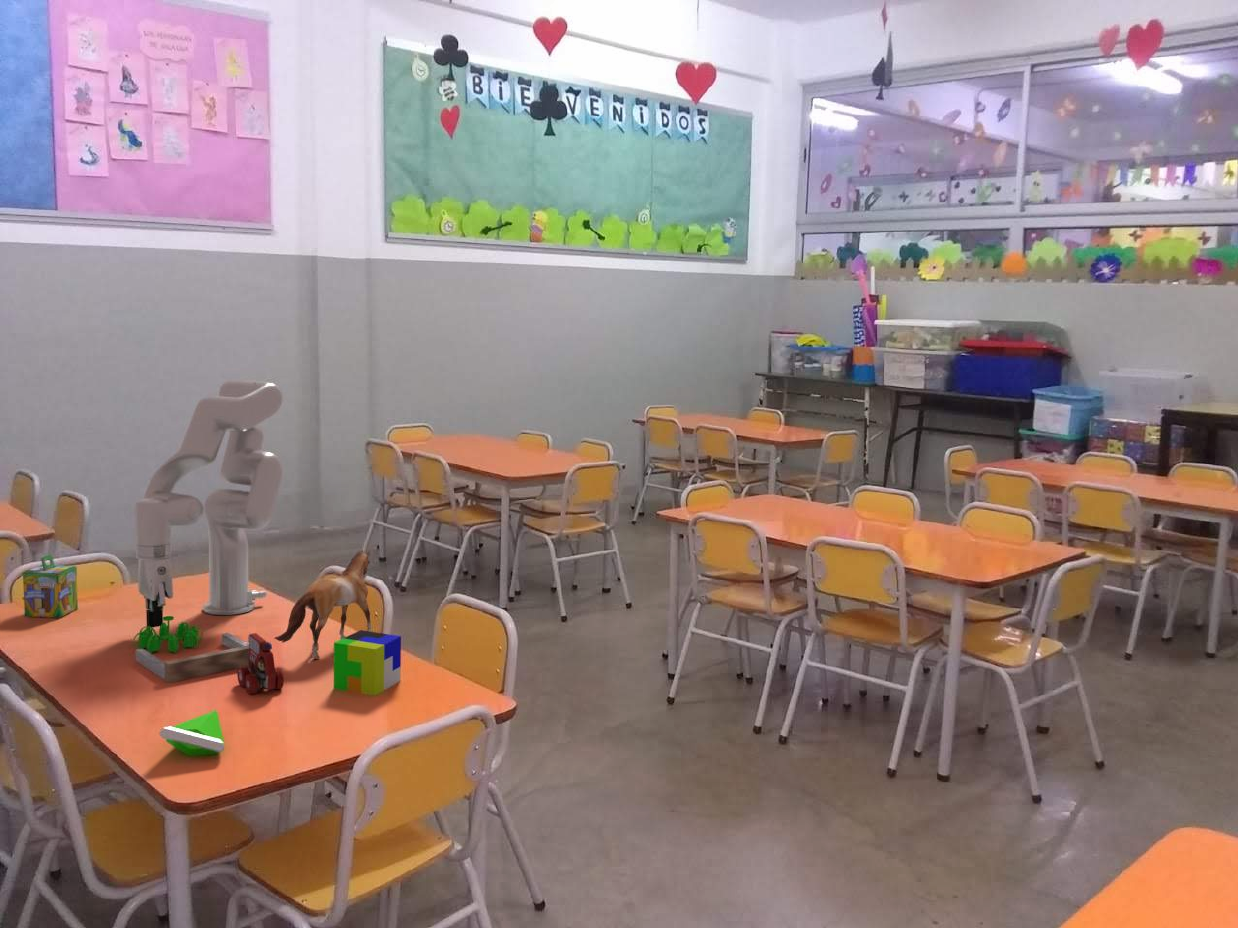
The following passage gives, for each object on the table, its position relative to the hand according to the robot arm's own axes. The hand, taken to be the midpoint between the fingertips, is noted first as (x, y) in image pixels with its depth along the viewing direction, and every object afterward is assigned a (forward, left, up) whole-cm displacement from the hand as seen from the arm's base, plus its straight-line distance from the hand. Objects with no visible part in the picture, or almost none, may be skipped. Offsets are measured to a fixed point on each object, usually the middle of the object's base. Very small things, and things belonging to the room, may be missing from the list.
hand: (154, 625), depth 250 cm
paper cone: (+18, +66, -3) cm, 68 cm away
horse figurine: (-27, +31, -2) cm, 41 cm away
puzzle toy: (-21, +60, -3) cm, 64 cm away
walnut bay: (0, +25, -2) cm, 25 cm away
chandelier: (+1, +10, -3) cm, 10 cm away
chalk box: (+13, -33, -3) cm, 35 cm away
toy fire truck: (-3, +48, -3) cm, 48 cm away
